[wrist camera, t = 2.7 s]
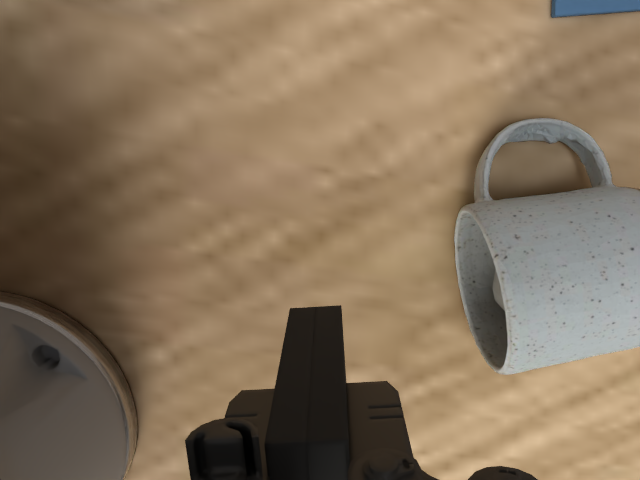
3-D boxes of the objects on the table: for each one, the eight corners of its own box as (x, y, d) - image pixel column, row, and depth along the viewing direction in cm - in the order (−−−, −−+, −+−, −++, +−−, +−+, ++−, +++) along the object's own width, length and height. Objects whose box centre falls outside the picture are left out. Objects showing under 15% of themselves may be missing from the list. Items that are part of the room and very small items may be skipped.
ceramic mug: (619, 306, 29) (719, 374, 22) (464, 333, 30) (509, 409, 22) (603, 102, 27) (709, 100, 19) (435, 135, 27) (475, 145, 20)
